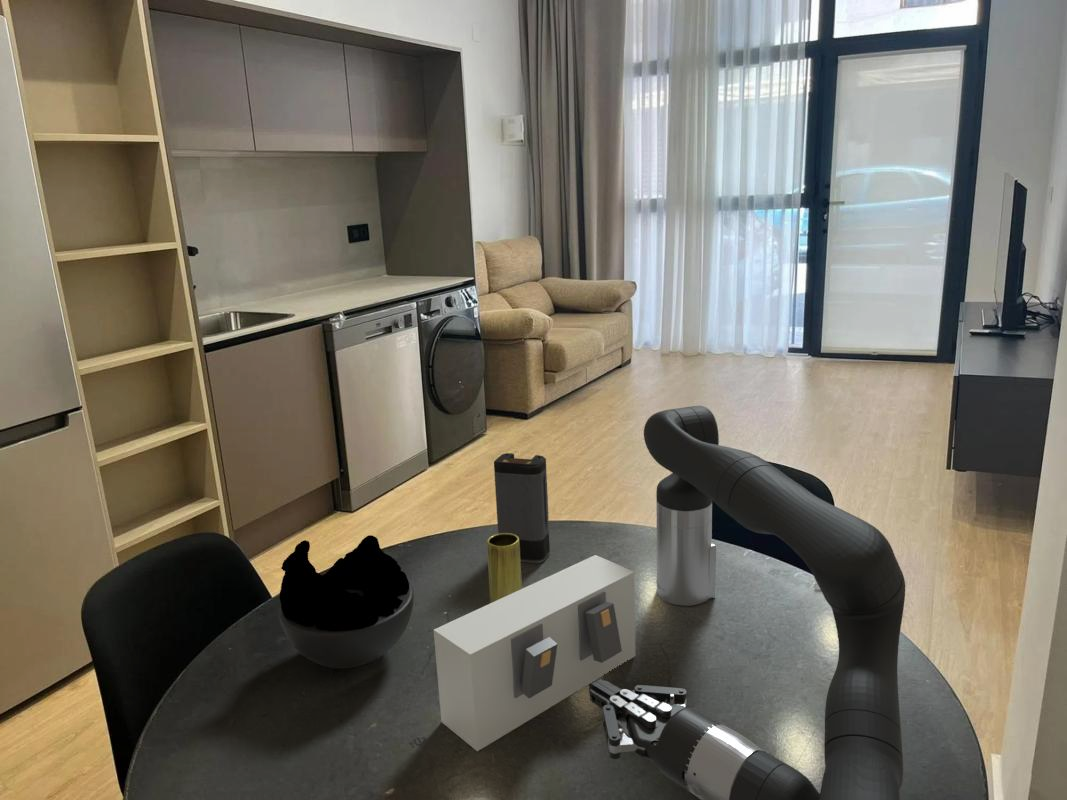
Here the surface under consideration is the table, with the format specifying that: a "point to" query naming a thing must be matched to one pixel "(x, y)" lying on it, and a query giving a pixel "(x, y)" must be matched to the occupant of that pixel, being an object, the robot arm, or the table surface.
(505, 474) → the electronic device
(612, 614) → the block
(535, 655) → the outer rocker
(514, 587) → the vase
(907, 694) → the table surface
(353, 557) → the coal bowl
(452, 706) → the power box
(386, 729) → the table surface
